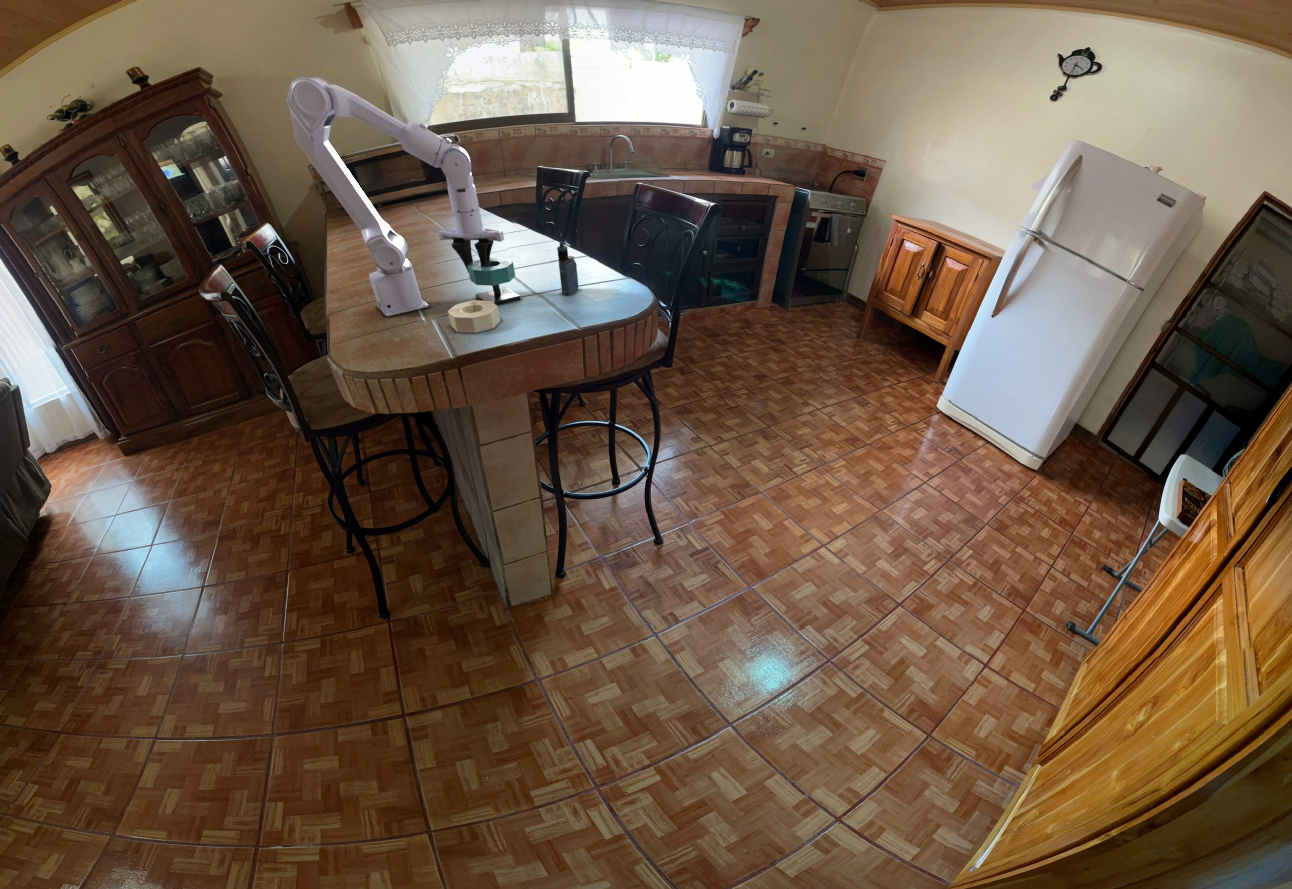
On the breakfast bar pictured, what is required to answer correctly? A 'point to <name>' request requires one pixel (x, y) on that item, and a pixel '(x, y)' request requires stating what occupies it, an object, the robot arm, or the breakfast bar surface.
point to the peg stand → (498, 295)
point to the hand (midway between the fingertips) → (478, 272)
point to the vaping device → (567, 271)
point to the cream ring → (474, 316)
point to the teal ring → (491, 272)
